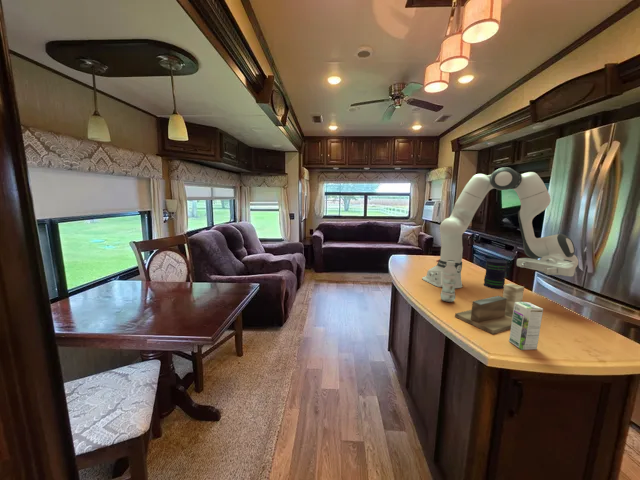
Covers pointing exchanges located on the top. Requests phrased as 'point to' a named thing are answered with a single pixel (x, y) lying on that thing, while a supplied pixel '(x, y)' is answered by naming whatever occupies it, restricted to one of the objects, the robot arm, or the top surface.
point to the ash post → (512, 297)
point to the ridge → (488, 315)
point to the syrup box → (525, 325)
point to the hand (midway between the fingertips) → (533, 267)
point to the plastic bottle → (449, 282)
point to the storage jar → (495, 273)
